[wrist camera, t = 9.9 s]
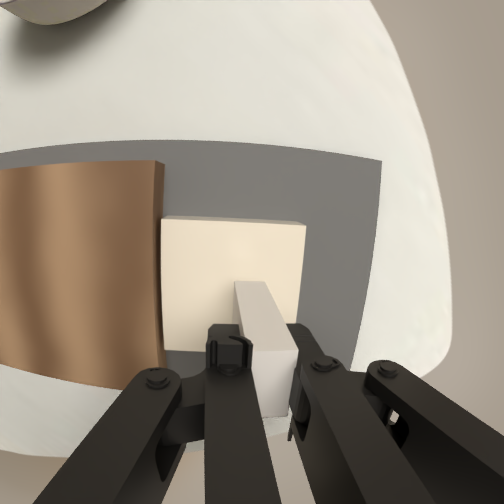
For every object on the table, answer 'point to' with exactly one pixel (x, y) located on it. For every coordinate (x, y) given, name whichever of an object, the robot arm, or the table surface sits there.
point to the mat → (265, 215)
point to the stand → (82, 270)
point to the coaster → (223, 271)
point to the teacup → (49, 9)
